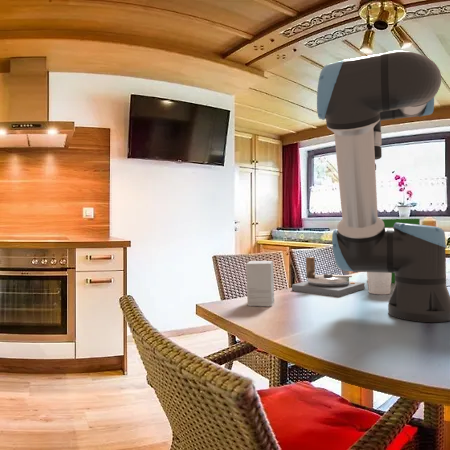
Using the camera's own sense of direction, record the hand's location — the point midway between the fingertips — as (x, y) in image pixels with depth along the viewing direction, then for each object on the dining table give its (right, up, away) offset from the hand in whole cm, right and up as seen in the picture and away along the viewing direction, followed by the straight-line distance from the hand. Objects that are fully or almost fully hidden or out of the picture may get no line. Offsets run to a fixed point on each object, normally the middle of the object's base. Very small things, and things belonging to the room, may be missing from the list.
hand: (370, 218), depth 129 cm
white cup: (+3, -25, 0) cm, 25 cm away
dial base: (-12, -25, +7) cm, 29 cm away
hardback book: (+16, -24, +20) cm, 36 cm away
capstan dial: (-12, -23, +7) cm, 27 cm away
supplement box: (-37, -26, -12) cm, 47 cm away
